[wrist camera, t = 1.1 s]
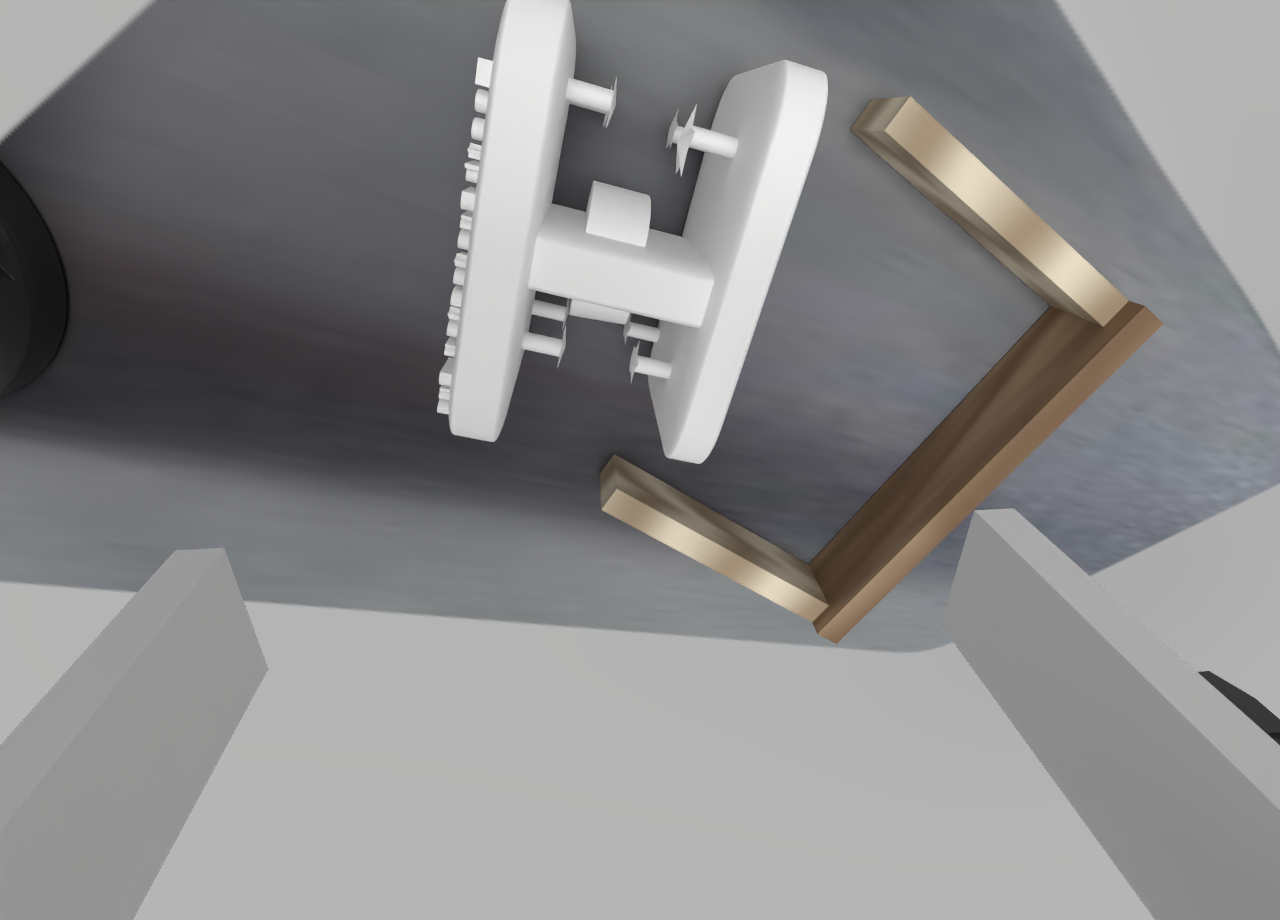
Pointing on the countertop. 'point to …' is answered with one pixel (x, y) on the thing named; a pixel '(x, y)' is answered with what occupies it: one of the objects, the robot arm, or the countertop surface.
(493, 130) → the cable organizer
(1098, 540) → the countertop surface
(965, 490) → the wooden tray
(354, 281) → the countertop surface
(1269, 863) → the robot arm
